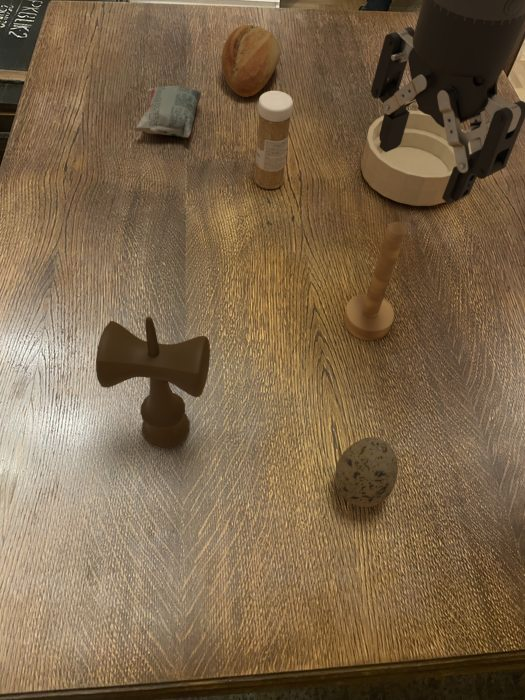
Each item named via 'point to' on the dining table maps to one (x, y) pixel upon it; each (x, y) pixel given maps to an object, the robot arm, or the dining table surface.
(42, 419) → the dining table surface
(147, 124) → the packaged food
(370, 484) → the decorative egg
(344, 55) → the dining table surface
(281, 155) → the sprinkles bottle
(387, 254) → the wooden peg stand
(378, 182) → the bowl
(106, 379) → the kendama
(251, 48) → the bread roll
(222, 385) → the dining table surface
